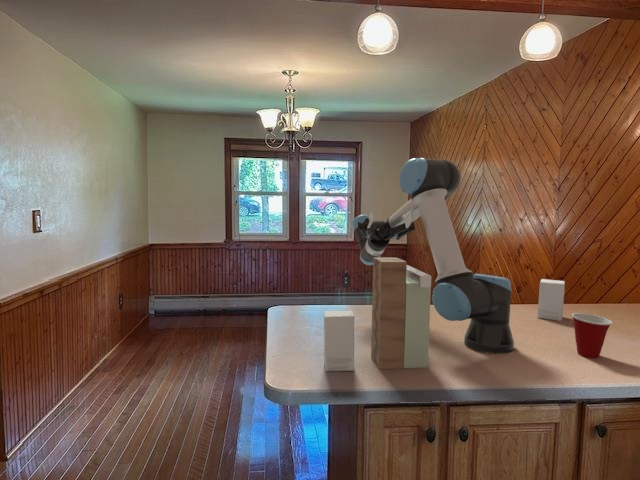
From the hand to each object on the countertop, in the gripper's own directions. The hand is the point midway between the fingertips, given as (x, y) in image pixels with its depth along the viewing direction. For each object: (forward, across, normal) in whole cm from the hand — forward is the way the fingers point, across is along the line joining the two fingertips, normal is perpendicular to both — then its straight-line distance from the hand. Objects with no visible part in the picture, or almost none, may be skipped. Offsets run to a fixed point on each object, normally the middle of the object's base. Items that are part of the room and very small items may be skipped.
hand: (392, 215), depth 149 cm
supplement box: (-39, -74, -26) cm, 88 cm away
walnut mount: (-1, +7, -47) cm, 48 cm away
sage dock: (-1, 0, -47) cm, 47 cm away
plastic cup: (-2, -57, -47) cm, 74 cm away
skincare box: (+1, +22, -49) cm, 53 cm away
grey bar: (+9, 0, -26) cm, 27 cm away
